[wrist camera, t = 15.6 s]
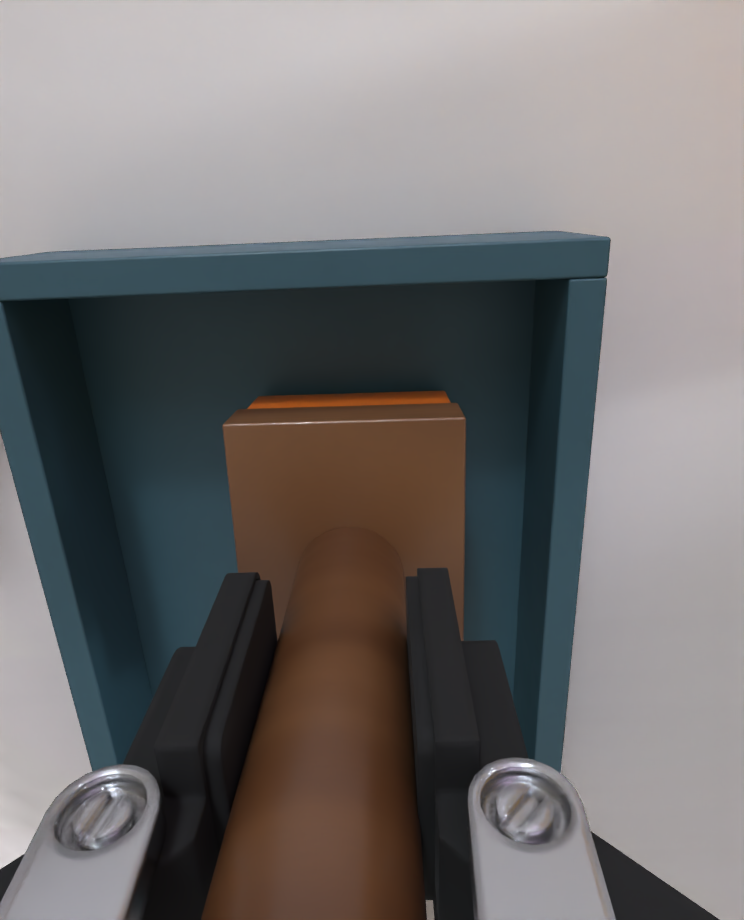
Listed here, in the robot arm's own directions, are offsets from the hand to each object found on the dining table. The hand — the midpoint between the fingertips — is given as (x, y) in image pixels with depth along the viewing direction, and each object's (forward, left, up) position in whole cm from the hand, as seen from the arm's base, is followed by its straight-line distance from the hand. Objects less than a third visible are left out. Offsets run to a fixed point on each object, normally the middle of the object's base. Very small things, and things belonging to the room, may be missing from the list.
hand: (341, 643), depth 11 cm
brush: (+1, 0, -7) cm, 7 cm away
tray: (+3, -1, -8) cm, 9 cm away
